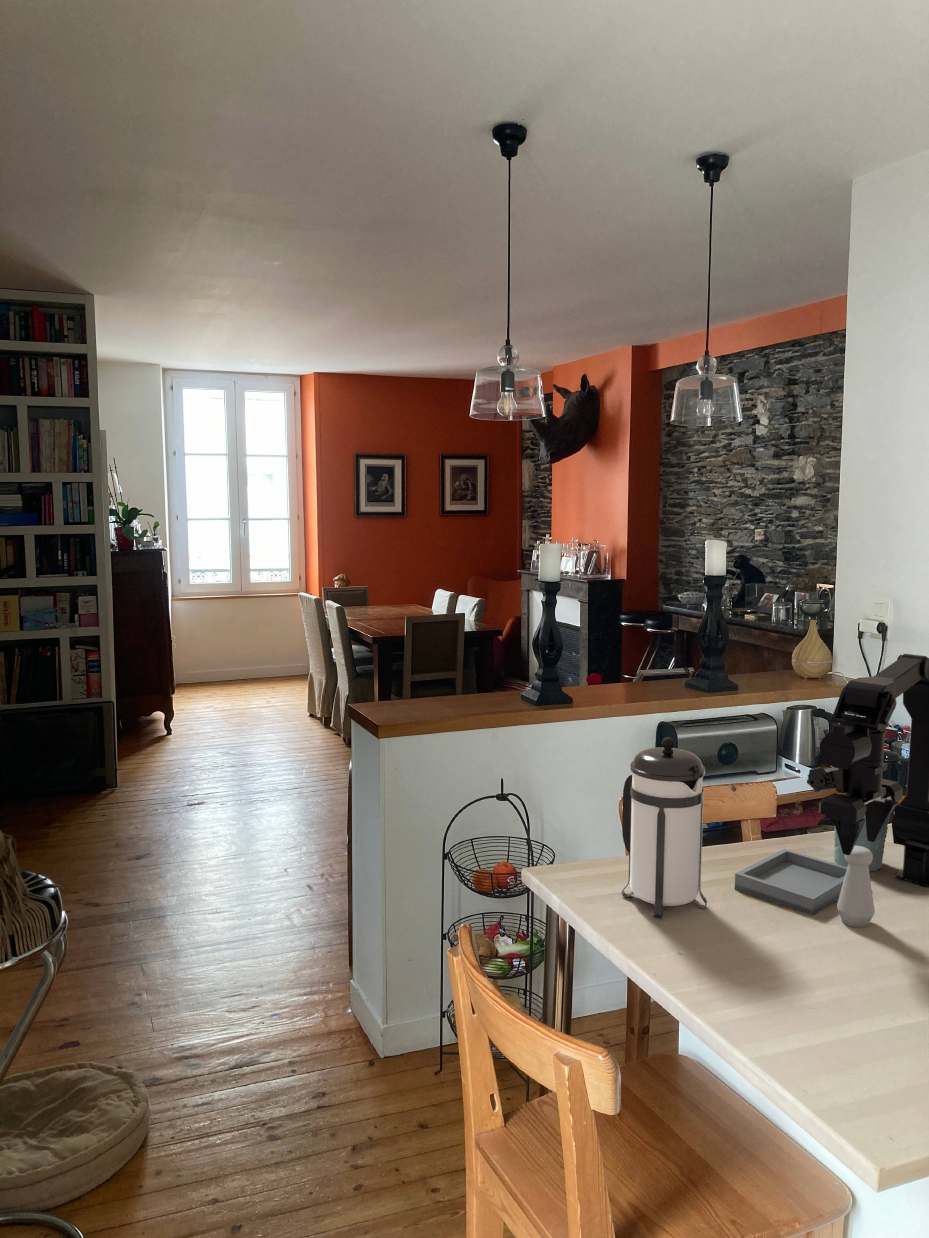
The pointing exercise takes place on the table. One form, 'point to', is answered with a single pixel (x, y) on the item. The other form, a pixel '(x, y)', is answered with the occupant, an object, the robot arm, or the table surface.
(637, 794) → the coffee press
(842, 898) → the salt shaker
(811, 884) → the tray
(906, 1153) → the table surface
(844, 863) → the teal cup
